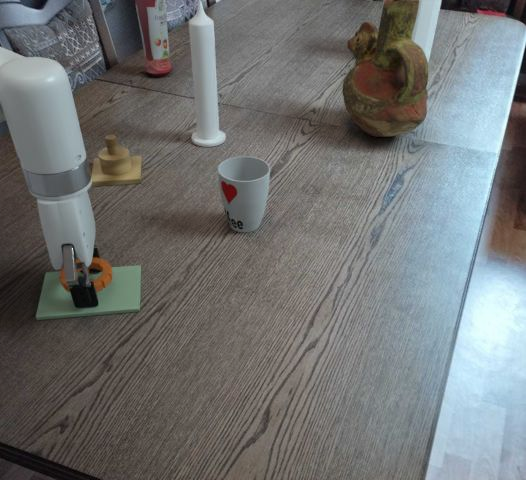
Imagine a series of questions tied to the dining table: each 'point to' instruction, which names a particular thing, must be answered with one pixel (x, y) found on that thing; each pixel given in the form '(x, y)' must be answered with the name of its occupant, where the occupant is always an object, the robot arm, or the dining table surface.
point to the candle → (204, 80)
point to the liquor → (154, 36)
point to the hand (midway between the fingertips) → (89, 287)
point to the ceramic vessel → (387, 73)
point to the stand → (116, 165)
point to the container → (425, 24)
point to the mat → (110, 298)
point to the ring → (96, 264)
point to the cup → (244, 191)
